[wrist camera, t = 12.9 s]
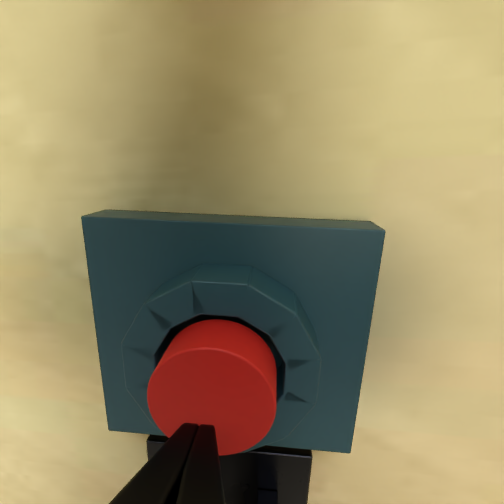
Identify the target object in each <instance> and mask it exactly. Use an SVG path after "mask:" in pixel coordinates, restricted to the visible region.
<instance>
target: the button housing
mask: <svg viewBox="0 0 504 504" xmlns="http://www.w3.org/2000/svg"><path fill="white" fill-rule="evenodd" d="M81 219H82V227H83V235H84V242H85V250H86V258H87V266H88V274H89V281H90V289H91V297H92V305H93V313H94V320H95V328H96V336H97V344H98V352H99V359H100V367H101V375H102V383H103V390H104V398H105V406H106V414H107V422H108V429H109V430H110V431H121V432H131V433H142V434H152V435H163V436H166V435H165V434H164V433H163V432H162V431H161V430H160V429H159V427H158V426H157V425H156V423H155V422H154V420H153V418H152V416H151V414H150V411H149V407H148V402H147V389H148V383H149V380H150V377H151V375H152V374H153V372H154V370H155V368H156V367H157V365H158V363H159V361H160V360H161V358H162V356H163V355H164V353H165V351H166V350H167V348H168V346H169V345H170V343H171V341H172V340H173V339H174V337H175V336H176V335H177V334H178V333H179V332H180V331H182V330H183V329H184V328H186V327H188V326H189V325H191V324H194V323H197V322H200V321H204V320H211V319H222V320H229V321H233V322H237V323H239V324H242V325H244V326H246V327H248V328H250V329H251V330H253V331H254V332H256V333H257V334H258V335H259V336H260V337H261V338H262V339H263V340H264V341H265V342H266V344H267V345H268V346H269V348H270V350H271V352H272V354H273V356H274V359H275V362H276V371H277V386H276V415H275V419H274V422H273V424H272V426H271V428H270V430H269V432H268V433H267V434H266V436H265V437H264V438H263V439H262V440H261V441H260V442H258V443H257V444H256V445H254V446H253V447H251V448H249V449H247V450H245V451H242V452H244V453H245V452H248V451H250V450H253V449H256V448H259V447H262V446H265V445H268V446H278V447H289V448H299V449H310V450H320V451H330V452H341V453H350V452H351V446H352V439H353V433H354V427H355V420H356V414H357V408H358V401H359V395H360V389H361V383H362V376H363V370H364V364H365V357H366V351H367V345H368V338H369V332H370V326H371V319H372V313H373V307H374V301H375V294H376V288H377V282H378V275H379V269H380V263H381V256H382V250H383V244H384V237H385V230H384V229H382V228H380V227H379V226H377V225H376V224H374V223H373V222H371V221H349V220H327V219H305V218H282V217H260V216H237V215H215V214H193V213H170V212H148V211H125V210H103V211H99V212H95V213H92V214H88V215H84V216H82V217H81ZM242 452H239V453H242Z"/></svg>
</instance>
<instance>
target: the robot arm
mask: <svg viewBox="0 0 504 504" xmlns="http://www.w3.org/2000/svg"><path fill="white" fill-rule="evenodd" d="M109 504H225V498H224V490H223V483H222V476H221V468H220V461H219V454H218V446H217V439H216V432H215V427H214V425H208V424H200V425H198V424H197V423H183V424H182V425H181V426H180V427H179V428H178V429H177V430H176V431H175V432H174V434H173V435H172V436H171V437H170V438H169V439H168V440H167V441H166V442H165V443H164V444H163V446H162V447H161V448H160V449H159V450H158V451H157V452H156V453H155V454H154V455H153V456H152V457H151V459H150V460H149V461H148V462H147V463H146V464H145V465H144V466H143V467H142V468H141V469H140V470H139V472H138V473H137V474H136V475H135V476H134V477H133V478H132V479H131V480H130V481H129V482H128V484H127V485H126V486H125V487H124V488H123V489H122V490H121V491H120V492H119V493H118V494H117V495H116V497H115V498H114V499H113V500H112V501H111V502H110V503H109Z"/></svg>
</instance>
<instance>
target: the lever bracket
mask: <svg viewBox="0 0 504 504" xmlns="http://www.w3.org/2000/svg"><path fill="white" fill-rule="evenodd" d="M168 439H169V438H168V437H167V436H163V435H152V434H150V435H149V437H148V439H147V453H148V461H149V460H150V459H151V457H152V456H153V455H154V454H155V453H156V452H157V451H158V450H159V449H160V448H161V447H162V446H163V444H164V443H165V442H166V441H167V440H168ZM219 461H220V468H221V476H222V483H223V490H224V498H225V504H307V500H308V492H309V483H310V474H311V465H312V450H310V449H299V448H289V447H278V446H268V445H265V446H262V447H259V448H256V449H253V450H250V451H248V452H245V453H244V452H242V453H236V454H230V455H220V456H219Z"/></svg>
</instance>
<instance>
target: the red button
mask: <svg viewBox="0 0 504 504" xmlns="http://www.w3.org/2000/svg"><path fill="white" fill-rule="evenodd" d="M276 386H277V371H276V362H275V359H274V356H273V354H272V352H271V350H270V348H269V346H268V345H267V344H266V342H265V341H264V340H263V339H262V338H261V337H260V336H259V335H258V334H257V333H256V332H254V331H253V330H251V329H250V328H248V327H246V326H244V325H242V324H239V323H237V322H233V321H229V320H222V319H211V320H204V321H200V322H197V323H194V324H191V325H189V326H188V327H186V328H184V329H183V330H182V331H180V332H179V333H178V334H177V335H176V336H175V337H174V339H173V340H172V341H171V343H170V345H169V346H168V348H167V350H166V351H165V353H164V355H163V356H162V358H161V360H160V361H159V363H158V365H157V367H156V368H155V370H154V372H153V374H152V375H151V377H150V380H149V383H148V389H147V402H148V407H149V411H150V414H151V416H152V418H153V420H154V422H155V423H156V425H157V426H158V427H159V429H160V430H161V431H162V432H163V433H164V434H165V435H166V436H167V437H168V438H170V437H171V436H172V435H173V434H174V432H175V431H176V430H177V429H178V428H179V427H180V426H181V425H182V424H183V423H197V424H198V425H200V424H208V425H214V427H215V432H216V439H217V446H218V454H219V456H220V455H230V454H236V453H239V452H242V451H245V450H247V449H249V448H251V447H253V446H254V445H256V444H257V443H258V442H260V441H261V440H262V439H263V438H264V437H265V436H266V434H267V433H268V432H269V430H270V428H271V426H272V424H273V422H274V419H275V415H276Z"/></svg>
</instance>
